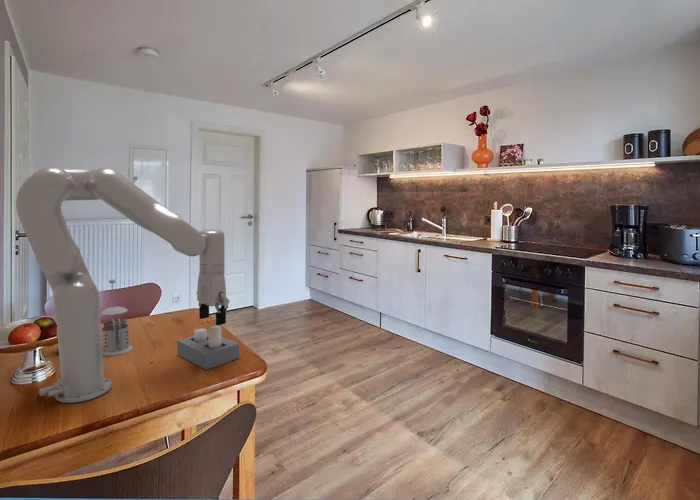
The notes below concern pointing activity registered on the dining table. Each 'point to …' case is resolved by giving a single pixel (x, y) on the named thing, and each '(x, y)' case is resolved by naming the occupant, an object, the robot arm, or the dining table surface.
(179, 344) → the socket block
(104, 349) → the french press
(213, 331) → the peg
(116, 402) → the dining table surface
